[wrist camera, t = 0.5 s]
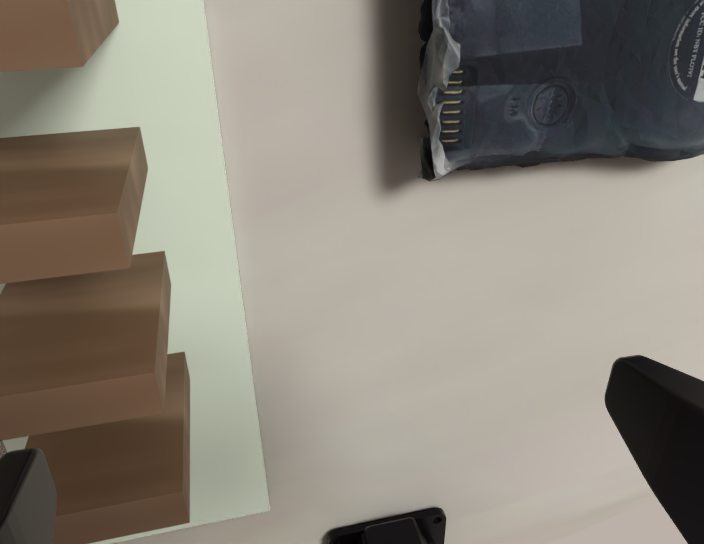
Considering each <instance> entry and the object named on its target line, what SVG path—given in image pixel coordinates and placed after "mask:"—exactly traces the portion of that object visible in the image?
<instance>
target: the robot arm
mask: <svg viewBox="0 0 704 544" xmlns="http://www.w3.org/2000/svg"><path fill="white" fill-rule="evenodd" d="M605 405H606V408H607V410H608V412H609V414H610V416H611V418H612V420H613V421H614V423H615V425H616V427H617V429H618V431H619V432H620V434H621V436H622V438H623V440H624V441H625V443H626V445H627V447H628V449H629V451H630V452H631V454H632V456H633V458H634V460H635V461H636V463H637V465H638V467H639V469H640V471H641V472H642V474H643V476H644V478H645V479H646V481H647V483H648V484H649V486H650V488H651V489H652V491H653V493H654V494H655V496H656V497H657V499H658V500H659V502H660V503H661V505H662V506H663V508H664V509H665V511H666V512H667V513H668V515H669V516H670V518H671V519H672V521H673V522H674V524H675V525H676V527H677V528H678V530H679V531H680V532H681V534H682V536H683V537H684V538H685V540H686V541H687V543H688V544H704V381H702V380H700V379H697V378H695V377H692V376H690V375H688V374H685V373H683V372H680V371H678V370H676V369H673V368H671V367H668V366H666V365H664V364H661V363H659V362H656V361H654V360H652V359H649V358H647V357H644V356H641V355H634V356H627V357H621V358H618V359H617V360H616V361H615V362H614V363H613V366H612V370H611V373H610V377H609V381H608V385H607V389H606V393H605ZM56 507H57V494H56V488H55V485H54V482H53V479H52V476H51V473H50V470H49V467H48V464H47V461H46V458H45V455H44V453H43V452H42V450H41V449H39V448H36V447H34V448H27V449H21V450H14V451H10V452H8V453H6V454H5V455H3V456H2V457H1V458H0V544H53V535H54V525H55V516H56ZM445 526H446V516H445V514H444V511H443V510H442V509H441V508H434V509H430V510H425V511H420V512H416V513H411V514H407V515H402V516H397V517H393V518H388V519H384V520H379V521H374V522H370V523H365V524H361V525H356V526H351V527H347V528H342V529H338V530H334V531H332V532H331V533H329V535H328V537H327V541H328V544H444V537H445Z"/></svg>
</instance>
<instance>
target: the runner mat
mask: <svg viewBox="0 0 704 544" xmlns="http://www.w3.org/2000/svg"><path fill="white" fill-rule="evenodd" d="M115 4H116V9H117V14H118V19H119V24H118V25H117V26H116V27H115V28H114V30H113V31H112V32H111V33H110V34H109V36H108V37H107V38H106V39H105V40H104V42H103V43H102V44H101V45H100V46H99V48H98V49H97V50H96V51H95V52H94V54H93V55H92V56H91V57H90V58H89V60H88V61H87V62H86V63H85V65H84V66H83V67H72V68H56V69H40V70H23V71H7V72H0V138H5V137H18V136H30V135H43V134H55V133H67V132H80V131H92V130H105V129H117V128H130V127H140V129H141V135H142V140H143V145H144V150H145V155H146V160H147V165H148V172H147V178H146V183H145V189H144V194H143V199H142V205H141V210H140V216H139V221H138V226H137V232H136V237H135V243H134V248H133V254H132V255H135V254H143V253H151V252H160V251H165V255H166V260H167V265H168V270H169V275H170V280H171V298H170V316H169V334H168V351H167V354H172V353H178V352H185V356H186V361H187V366H188V371H189V376H190V523H186V524H181V525H177V526H172V527H167V528H162V529H157V530H152V531H147V532H143V533H138V534H133V535H128V536H123V537H118V538H113V539H108V540H104V541H99V542H94V543H89V544H112V543H117V542H122V541H127V540H131V539H136V538H141V537H146V536H151V535H155V534H160V533H165V532H170V531H175V530H180V529H184V528H189V527H194V526H199V525H204V524H209V523H213V522H218V521H223V520H228V519H233V518H238V517H242V516H247V515H252V514H257V513H262V512H267V511H270V505H269V497H268V489H267V482H266V474H265V466H264V459H263V451H262V444H261V436H260V428H259V421H258V413H257V405H256V398H255V390H254V383H253V375H252V367H251V360H250V352H249V344H248V337H247V329H246V322H245V314H244V306H243V299H242V291H241V283H240V276H239V268H238V261H237V253H236V245H235V238H234V230H233V222H232V215H231V207H230V200H229V192H228V184H227V177H226V169H225V161H224V154H223V146H222V139H221V131H220V123H219V116H218V108H217V101H216V93H215V85H214V78H213V70H212V62H211V55H210V47H209V40H208V32H207V24H206V17H205V9H204V1H203V0H115ZM5 284H6V283H4V284H0V294H1V292H2V290H3V288H4V286H5ZM28 437H29V436H26V437H20V438H15V439H9V440H3V443H4V446H5V448H6V450H7V453H8V452H10V451H14V450H21V449H25V446H26V443H27V440H28Z"/></svg>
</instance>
